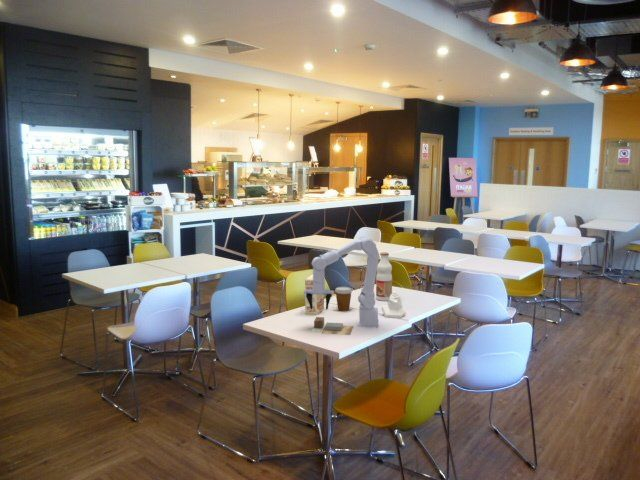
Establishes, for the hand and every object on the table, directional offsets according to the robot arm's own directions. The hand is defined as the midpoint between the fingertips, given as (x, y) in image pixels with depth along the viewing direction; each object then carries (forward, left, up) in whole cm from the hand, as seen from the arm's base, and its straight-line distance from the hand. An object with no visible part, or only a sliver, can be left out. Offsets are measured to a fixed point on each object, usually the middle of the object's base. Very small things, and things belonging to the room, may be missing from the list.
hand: (319, 308), depth 262 cm
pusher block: (0, +1, -8) cm, 8 cm away
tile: (-8, -1, -8) cm, 11 cm away
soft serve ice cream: (-36, -29, -10) cm, 47 cm away
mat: (-10, +3, -10) cm, 14 cm away
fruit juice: (-29, -61, -10) cm, 68 cm away
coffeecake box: (+7, -29, -10) cm, 32 cm away
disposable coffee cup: (-8, -35, -10) cm, 37 cm away
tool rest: (0, +5, -10) cm, 11 cm away
